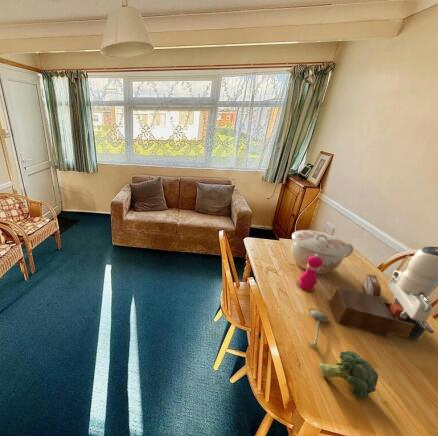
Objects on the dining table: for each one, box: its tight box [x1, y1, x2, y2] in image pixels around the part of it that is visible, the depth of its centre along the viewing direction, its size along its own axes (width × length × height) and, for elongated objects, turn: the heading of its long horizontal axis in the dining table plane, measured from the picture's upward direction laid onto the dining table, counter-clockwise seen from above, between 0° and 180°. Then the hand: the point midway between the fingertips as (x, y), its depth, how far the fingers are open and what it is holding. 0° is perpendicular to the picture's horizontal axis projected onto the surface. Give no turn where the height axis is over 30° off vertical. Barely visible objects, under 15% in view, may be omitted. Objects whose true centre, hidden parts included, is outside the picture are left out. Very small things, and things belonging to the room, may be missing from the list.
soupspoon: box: [310, 309, 329, 349], centre depth 95 cm, size 22×3×7 cm
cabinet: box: [330, 286, 395, 337], centre depth 99 cm, size 16×14×9 cm
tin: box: [363, 274, 382, 297], centre depth 112 cm, size 15×3×8 cm, turn 148°
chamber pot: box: [290, 229, 354, 274], centre depth 130 cm, size 28×28×21 cm
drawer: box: [383, 300, 435, 343], centre depth 94 cm, size 19×12×7 cm, turn 66°
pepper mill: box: [298, 254, 323, 291], centre depth 115 cm, size 7×7×20 cm
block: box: [388, 302, 407, 319], centre depth 93 cm, size 4×4×4 cm
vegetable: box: [318, 350, 379, 399], centre depth 75 cm, size 12×13×15 cm
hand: (398, 311), depth 93 cm, fingers closed on block, 4 cm apart
